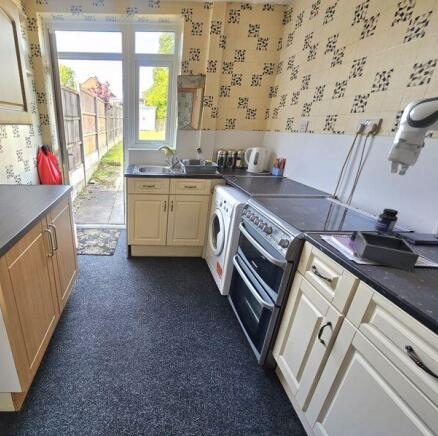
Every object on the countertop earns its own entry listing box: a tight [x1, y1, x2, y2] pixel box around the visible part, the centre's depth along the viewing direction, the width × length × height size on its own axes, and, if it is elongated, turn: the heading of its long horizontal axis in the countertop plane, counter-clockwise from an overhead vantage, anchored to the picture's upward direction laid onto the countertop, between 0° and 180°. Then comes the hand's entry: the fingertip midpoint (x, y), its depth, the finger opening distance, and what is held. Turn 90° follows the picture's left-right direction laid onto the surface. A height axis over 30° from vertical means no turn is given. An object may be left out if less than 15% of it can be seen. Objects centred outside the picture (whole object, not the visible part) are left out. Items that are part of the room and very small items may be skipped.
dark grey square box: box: [352, 230, 420, 272], centre depth 89 cm, size 14×14×7 cm
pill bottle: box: [373, 208, 399, 235], centre depth 111 cm, size 6×6×11 cm
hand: (397, 174), depth 107 cm, fingers open, 8 cm apart
